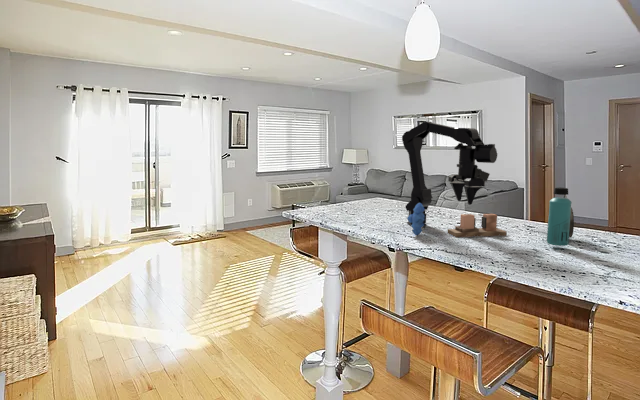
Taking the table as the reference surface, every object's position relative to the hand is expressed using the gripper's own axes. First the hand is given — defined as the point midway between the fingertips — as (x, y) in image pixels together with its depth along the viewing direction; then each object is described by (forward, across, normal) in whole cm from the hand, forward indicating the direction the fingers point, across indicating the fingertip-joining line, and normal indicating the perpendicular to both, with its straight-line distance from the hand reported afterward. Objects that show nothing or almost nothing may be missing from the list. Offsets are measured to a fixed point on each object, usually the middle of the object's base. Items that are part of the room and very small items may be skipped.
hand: (464, 202), depth 159 cm
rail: (+12, -4, -4) cm, 13 cm away
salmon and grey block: (+10, -4, 0) cm, 11 cm away
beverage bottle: (+11, -26, -20) cm, 35 cm away
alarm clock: (+12, -15, -30) cm, 36 cm away
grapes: (+12, -1, +19) cm, 23 cm away
